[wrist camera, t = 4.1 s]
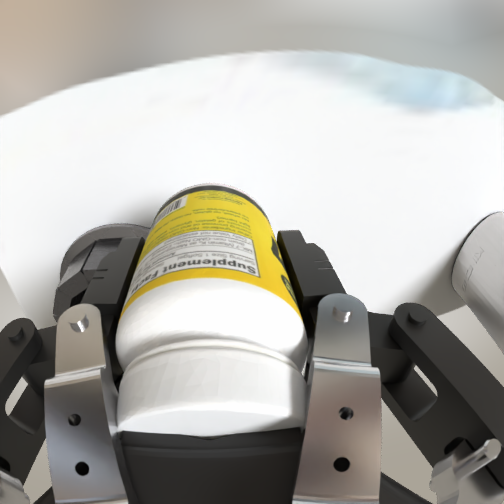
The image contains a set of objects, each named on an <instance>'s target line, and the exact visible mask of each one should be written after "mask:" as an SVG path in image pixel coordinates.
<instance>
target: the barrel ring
mask: <svg viewBox="0 0 504 504" xmlns="http://www.w3.org/2000/svg"><path fill="white" fill-rule="evenodd" d="M149 231H150V229H149V228H146V227H142V226H138V225H132V224H109V225H103V226H100V227H97V228H94V229H92V230H89V231H87V232H86V233H84V234H83V235H81V236H80V237H79V238H78V239H76V240H75V241H74V242H73V244H72V245H71V246H70V248H69V249H68V251H67V252H66V254H65V257H64V259H63V262H62V265H61V271H60V280H61V282H60V284H59V286H58V287H57V289H56V295H55V302H54V309H53V314H54V318H55V320H56V322H57V323H58V320H59V318H60V316H61V315H62V314H63V313H64V312H65V311H66V310H67V309H69V308H71V307H73V306H75V305H78V304H80V303H81V301H82V299H83V297H84V294H85V292H86V290H87V288H88V286H89V284H90V282H91V279H93V275H94V273H95V272H96V269H97V267H98V265H99V263H100V261H101V260H102V259H103V258H104V257H105V256H106V255H107V254H108V253H110V252H116V250H117V248H118V246H119V244H120V242H121V240H122V238H126V237H144V239H145V242H146V239H147V237H148V234H149Z"/></svg>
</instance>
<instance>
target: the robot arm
mask: <svg viewBox="0 0 504 504" xmlns="http://www.w3.org/2000/svg"><path fill="white" fill-rule="evenodd" d="M144 245H145V239H144V237H126V238H122V240H121V242H120V244H119V246H118V248H117V250H116V252H110V253H108V254H107V255H106V256H105V257H104V258H103V259H102V260H101V261H100V263H99V265H98V267H97V269H96V272H95V273H94V275H93V279H91V282H90V284H89V286H88V288H87V290H86V292H85V294H84V297H83V299H82V301H81V303H80V304H78V305H75V306H73V307H71V308H69V309H67V310H66V311H65V312H64V313H63V314H62V315H61V316H60V318H59V320H58V323H57V325H56V326H52V327H48V328H44V329H40V330H37V329H36V327H35V325H34V323H33V322H32V321H31V320H30V319H27V318H19V319H16V320H13V321H12V322H10V323H9V324H7V326H5V328H4V329H3V330H2V331H1V332H0V504H30V499H29V497H28V495H27V494H26V493H24V489H23V485H24V483H25V481H26V478H27V476H28V474H29V472H30V470H31V467H32V465H33V463H34V461H35V459H36V457H37V455H38V453H39V451H40V449H41V447H42V444H43V442H44V440H45V438H46V442H47V451H48V460H49V468H50V475H51V481H52V487H51V488H49V490H47V491H46V492H45V493H44V494H43V495H42V496H41V497H40V498H39V499H38V500H37V501H35V502H34V504H432V503H431V502H429V501H427V500H425V499H423V498H422V497H420V496H419V495H417V494H415V493H414V492H412V491H410V490H409V489H407V488H406V487H404V486H402V485H401V484H399V483H398V482H396V481H395V480H393V479H391V478H390V477H388V476H386V475H385V474H384V473H382V472H381V449H382V447H381V446H382V445H381V444H382V406H381V398H382V399H383V401H384V402H385V404H386V405H387V406H388V407H389V408H390V410H391V412H392V413H393V414H394V415H395V417H396V418H397V420H398V421H399V422H400V424H401V425H402V426H403V428H404V429H405V430H406V432H407V433H408V435H409V436H410V437H411V439H412V440H413V441H414V443H415V444H416V445H417V447H418V448H419V450H420V451H421V452H422V454H423V455H424V456H425V458H426V459H427V460H428V462H429V463H430V465H431V466H432V467H433V471H432V477H431V481H430V484H429V486H430V489H431V491H433V492H436V495H437V504H501V503H502V502H503V501H504V387H503V386H502V385H501V384H500V383H499V381H498V380H496V378H495V377H494V376H493V375H492V374H491V373H490V371H489V370H488V369H487V368H486V367H485V366H484V365H483V364H482V363H481V362H480V361H479V360H478V359H477V358H476V356H475V355H474V354H473V353H472V352H471V351H470V350H469V349H468V348H467V347H466V346H465V345H464V344H463V343H462V342H461V341H460V340H459V339H458V338H457V337H456V336H455V335H454V334H453V333H452V332H451V331H450V330H449V329H448V328H447V327H446V326H445V325H444V324H443V323H442V322H441V321H440V320H439V319H438V318H437V317H436V316H435V315H434V314H433V313H432V312H431V311H430V310H428V309H427V308H426V307H424V306H422V305H419V304H416V303H404V304H401V305H399V306H398V307H397V308H396V310H395V312H394V315H386V314H378V313H372V312H368V311H367V309H366V307H365V305H364V304H363V303H362V302H361V301H360V300H359V299H357V298H355V297H353V296H351V295H348V294H347V293H346V292H345V290H344V288H343V286H342V284H341V282H340V280H339V278H338V276H337V274H336V272H335V271H334V269H333V267H332V265H331V263H330V262H329V259H328V258H327V256H326V254H325V252H324V251H323V250H322V249H321V248H320V247H318V246H317V245H316V244H314V243H308V244H306V242H305V240H304V238H303V236H302V234H301V232H300V231H299V230H288V231H278V234H277V245H278V248H279V251H280V254H281V257H282V260H283V263H284V266H285V269H286V272H287V275H288V278H289V281H290V284H291V287H292V289H293V292H294V295H295V298H296V301H297V304H298V308H299V311H300V314H301V317H302V320H303V323H304V327H305V330H306V335H307V342H308V352H307V359H306V362H305V366H304V373H303V378H304V379H305V381H306V383H307V396H306V409H305V418H304V425H303V431H302V433H301V429H300V427H294V428H287V429H279V430H270V431H260V432H249V433H236V434H233V435H229V436H226V437H222V438H219V439H215V440H203V439H198V438H194V437H189V436H185V435H181V434H164V433H148V432H135V431H125V430H123V431H122V438H119V435H118V430H117V426H116V414H117V404H118V397H119V387H120V383H121V380H122V378H123V374H124V372H123V370H122V368H121V366H120V364H119V361H118V358H117V354H116V333H117V328H118V323H119V319H120V316H121V313H122V310H123V307H124V303H125V300H126V297H127V294H128V291H129V288H130V285H131V282H132V279H133V276H134V273H135V270H136V267H137V264H138V261H139V258H140V255H141V253H142V250H143V247H144ZM452 285H453V288H454V289H455V291H456V292H457V293H458V294H459V295H460V297H461V298H462V299H463V300H464V302H465V303H466V304H467V305H468V307H469V308H470V309H471V311H472V312H473V313H474V314H475V316H476V317H477V319H478V320H479V321H480V322H481V324H482V325H483V326H484V328H485V329H486V330H487V332H488V333H489V335H490V336H491V337H492V338H493V340H494V341H495V343H496V344H497V345H498V347H499V348H500V350H501V351H502V353H503V354H504V212H498V213H494V214H492V215H490V216H489V217H487V218H486V219H485V220H483V221H482V222H481V223H480V224H479V225H478V226H477V227H476V228H475V229H474V230H473V232H472V233H471V234H470V236H469V237H468V238H467V240H466V242H465V243H464V245H463V247H462V248H461V250H460V252H459V254H458V257H457V259H456V262H455V265H454V268H453V273H452ZM415 365H417V366H418V367H419V369H420V370H421V371H422V372H423V373H424V375H425V376H426V377H427V378H428V379H429V380H430V382H431V383H432V384H433V385H434V386H435V388H436V390H437V395H438V397H437V396H436V395H435V394H434V393H433V391H432V390H431V389H430V388H429V387H428V385H427V384H426V383H425V382H424V381H423V379H422V378H421V377H420V376H419V375H418V373H417V372H416V371H415V370H414V367H415ZM21 377H23V378H24V379H25V381H26V382H27V383H28V386H27V387H26V389H25V390H24V392H23V393H22V395H21V397H20V399H19V400H18V402H17V404H16V405H15V407H14V408H13V410H12V412H11V414H10V415H9V416H7V414H6V411H5V404H6V401H7V399H8V398H9V396H10V394H11V393H12V391H13V390H14V388H15V386H16V384H17V383H18V382H19V380H20V379H21Z"/></svg>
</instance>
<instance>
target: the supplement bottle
mask: <svg viewBox="0 0 504 504" xmlns="http://www.w3.org/2000/svg"><path fill="white" fill-rule="evenodd" d="M307 352H308V342H307V335H306V330H305V327H304V323H303V320H302V317H301V314H300V311H299V308H298V304H297V301H296V298H295V295H294V292H293V289H292V287H291V284H290V281H289V278H288V275H287V272H286V269H285V266H284V263H283V260H282V257H281V254H280V251H279V248H278V245H277V242H276V239H275V236H274V233H273V231H272V228H271V225H270V222H269V220H268V218H267V216H266V214H265V212H264V210H263V209H262V207H261V206H260V205H259V204H258V202H257V201H256V200H254V199H253V198H252V197H251V196H250V195H248V194H247V193H245V192H244V191H242V190H240V189H238V188H235V187H232V186H229V185H225V184H218V183H205V184H199V185H194V186H191V187H188V188H185V189H183V190H181V191H179V192H178V193H176V194H174V195H173V196H172V197H170V198H169V199H168V200H167V201H166V202H165V203H164V204H163V206H162V207H161V208H160V210H159V211H158V213H157V215H156V217H155V219H154V221H153V224H152V227H151V229H150V231H149V234H148V237H147V239H146V242H145V245H144V247H143V250H142V253H141V255H140V258H139V261H138V264H137V267H136V270H135V273H134V276H133V279H132V282H131V285H130V288H129V291H128V294H127V297H126V300H125V303H124V307H123V310H122V313H121V316H120V319H119V323H118V328H117V333H116V354H117V358H118V361H119V364H120V366H121V368H122V370H123V372H124V374H123V378H122V380H121V383H120V387H119V397H118V404H117V414H116V426H117V430H118V435H119V438H122V431H123V430H125V431H135V432H148V433H164V434H181V435H185V436H189V437H194V438H198V439H203V440H215V439H219V438H222V437H226V436H229V435H233V434H236V433H249V432H260V431H270V430H279V429H287V428H294V427H300V429H301V433H302V431H303V425H304V418H305V409H306V396H307V383H306V381H305V379H304V378H303V375H302V373H301V372H302V370H303V368H304V365H305V362H306V359H307Z"/></svg>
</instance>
